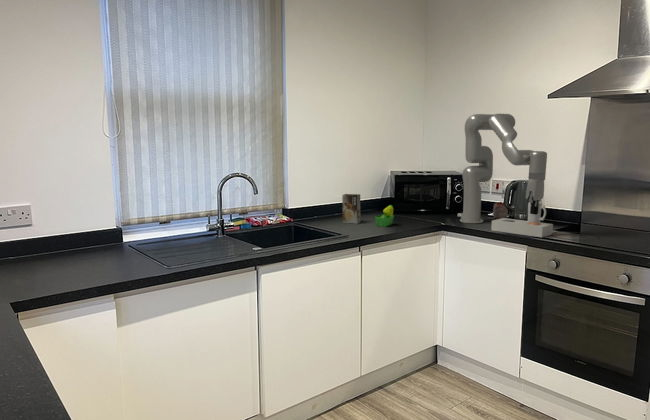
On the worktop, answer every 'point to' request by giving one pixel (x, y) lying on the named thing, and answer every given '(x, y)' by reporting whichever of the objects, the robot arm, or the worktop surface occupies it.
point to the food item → (500, 211)
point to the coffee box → (351, 208)
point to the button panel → (522, 227)
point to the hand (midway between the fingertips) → (533, 213)
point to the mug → (538, 216)
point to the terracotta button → (534, 223)
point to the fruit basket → (385, 217)
